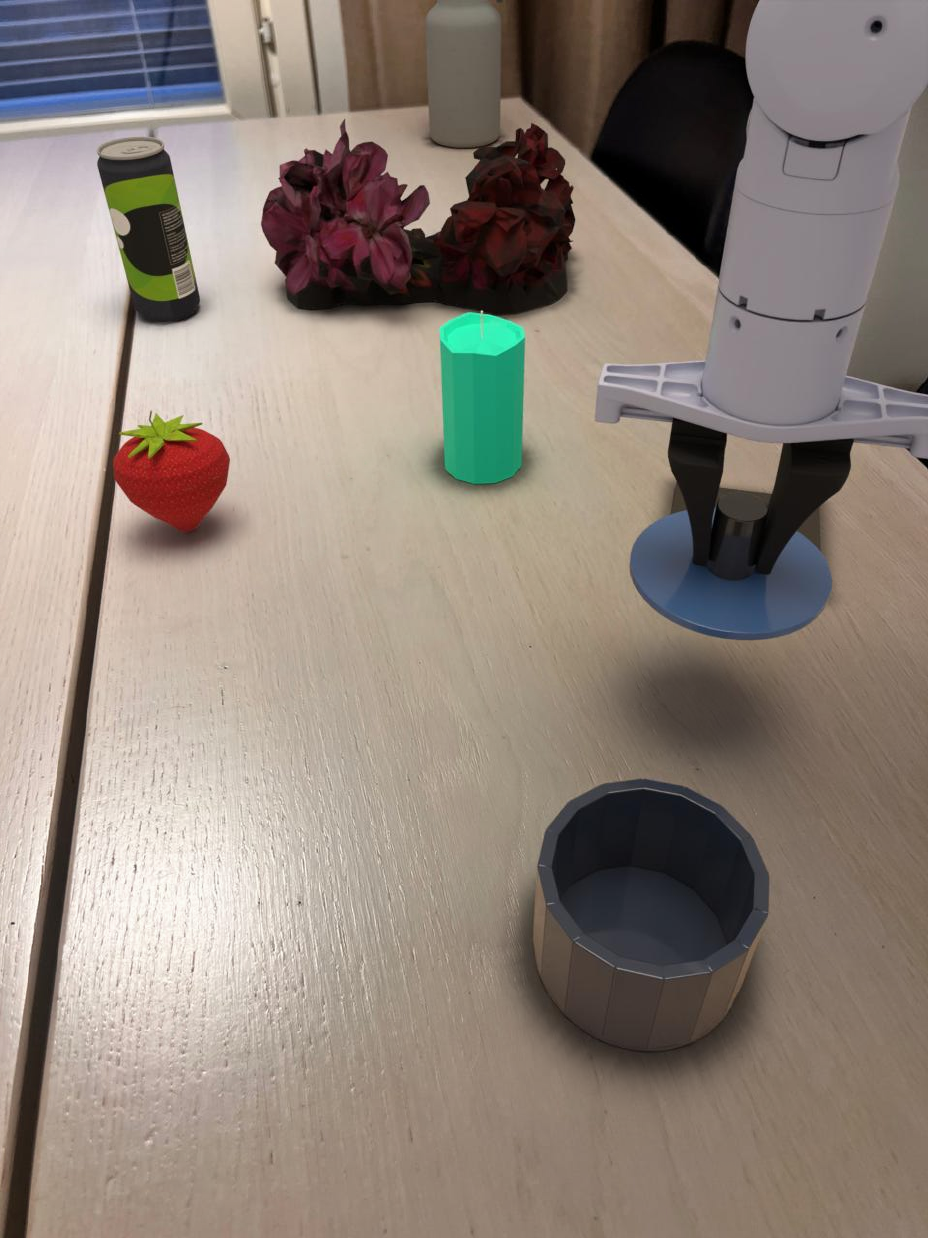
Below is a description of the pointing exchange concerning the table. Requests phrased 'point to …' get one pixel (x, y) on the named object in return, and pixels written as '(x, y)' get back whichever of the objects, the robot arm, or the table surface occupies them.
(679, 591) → the lid
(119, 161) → the beverage can
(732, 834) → the pot
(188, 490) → the strawberry
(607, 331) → the table surface
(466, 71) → the water bottle
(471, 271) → the flower arrangement
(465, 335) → the candle
